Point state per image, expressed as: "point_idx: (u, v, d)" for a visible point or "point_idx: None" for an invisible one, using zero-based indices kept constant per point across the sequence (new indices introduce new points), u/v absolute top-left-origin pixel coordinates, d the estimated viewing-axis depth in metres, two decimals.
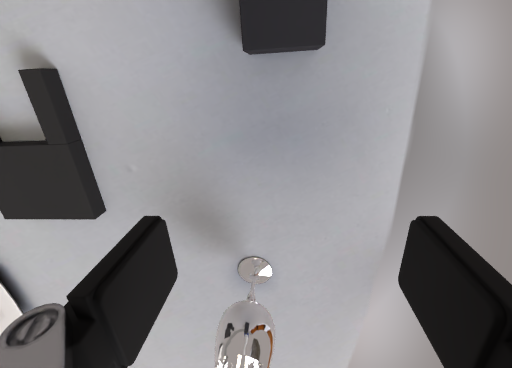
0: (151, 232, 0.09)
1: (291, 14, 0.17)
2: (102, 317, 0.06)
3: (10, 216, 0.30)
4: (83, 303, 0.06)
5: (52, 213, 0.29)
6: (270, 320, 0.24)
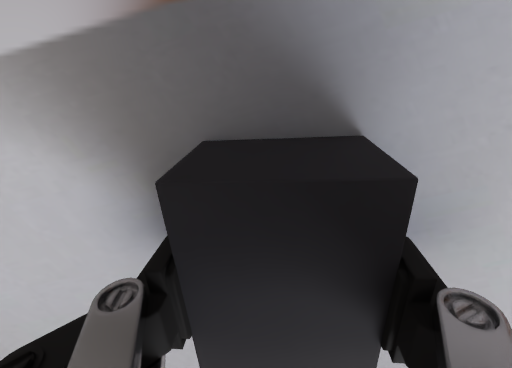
0: None
1: (302, 351, 0.08)
2: (172, 291, 0.07)
3: None
4: (157, 277, 0.07)
5: None
6: None
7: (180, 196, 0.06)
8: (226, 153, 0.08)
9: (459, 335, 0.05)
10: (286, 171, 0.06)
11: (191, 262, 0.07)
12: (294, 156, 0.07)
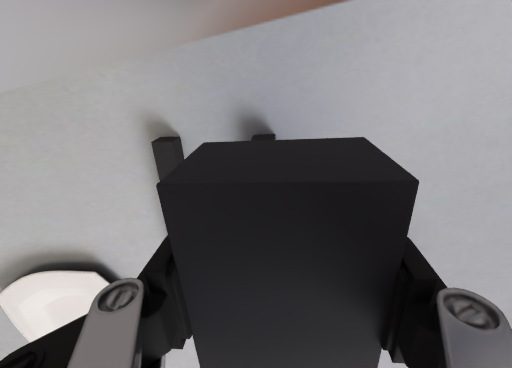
0: None
1: (303, 353, 0.08)
2: (171, 291, 0.07)
3: None
4: (157, 277, 0.07)
5: None
6: None
7: (181, 198, 0.06)
8: (227, 155, 0.08)
9: (459, 335, 0.05)
10: (287, 173, 0.06)
11: (192, 263, 0.07)
12: (295, 158, 0.07)
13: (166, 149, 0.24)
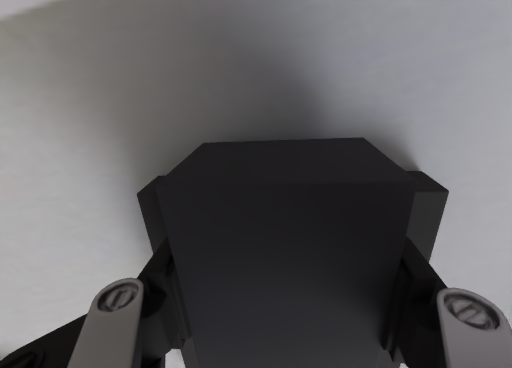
0: None
1: (302, 353, 0.08)
2: (171, 291, 0.07)
3: None
4: (157, 277, 0.07)
5: None
6: None
7: (180, 199, 0.06)
8: (226, 155, 0.08)
9: (459, 335, 0.05)
10: (286, 173, 0.06)
11: (191, 264, 0.07)
12: (294, 158, 0.07)
13: None
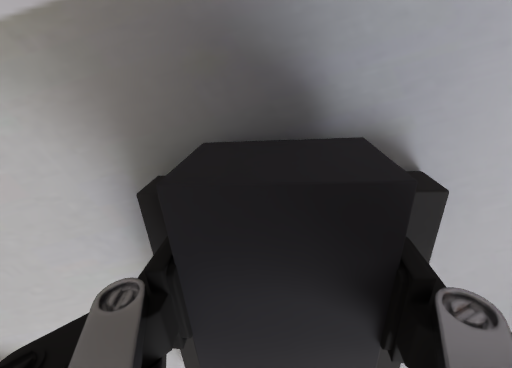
0: None
1: (302, 353, 0.08)
2: (173, 291, 0.07)
3: None
4: (159, 277, 0.07)
5: None
6: None
7: (181, 198, 0.06)
8: (226, 155, 0.08)
9: (458, 335, 0.05)
10: (286, 173, 0.06)
11: (191, 263, 0.07)
12: (294, 158, 0.07)
13: None
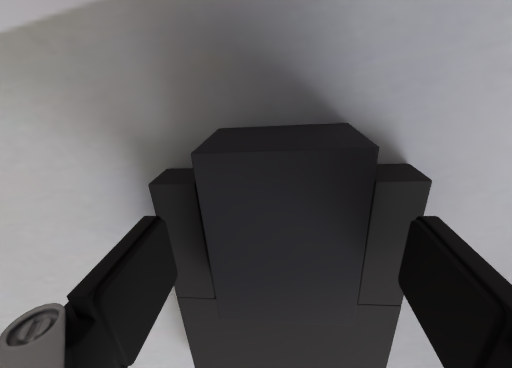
0: (151, 232, 0.09)
1: (299, 290, 0.10)
2: (102, 317, 0.06)
3: None
4: (83, 303, 0.06)
5: None
6: None
7: (209, 163, 0.08)
8: (239, 135, 0.10)
9: None
10: (286, 145, 0.08)
11: (215, 216, 0.09)
12: (292, 136, 0.09)
13: (180, 199, 0.11)
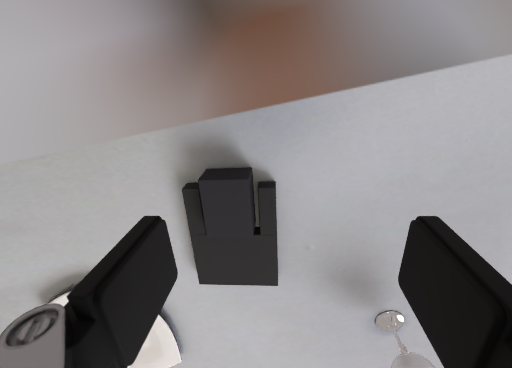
0: (151, 232, 0.09)
1: (233, 224, 0.31)
2: (102, 317, 0.06)
3: (205, 282, 0.38)
4: (83, 303, 0.06)
5: (242, 281, 0.37)
6: None
7: (203, 183, 0.29)
8: (213, 173, 0.31)
9: None
10: (225, 177, 0.29)
11: (205, 198, 0.30)
12: (229, 174, 0.30)
13: (193, 194, 0.32)
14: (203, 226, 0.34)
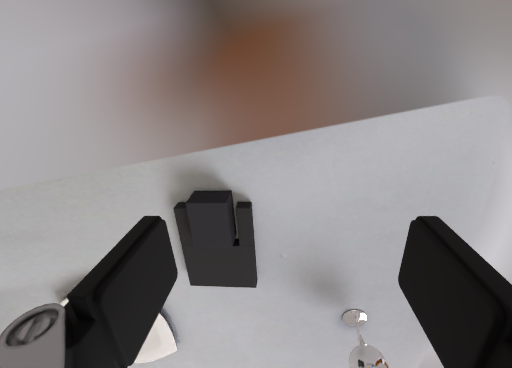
0: (151, 232, 0.09)
1: (215, 238, 0.38)
2: (102, 317, 0.06)
3: (195, 284, 0.45)
4: (83, 303, 0.06)
5: (226, 283, 0.44)
6: (385, 359, 0.39)
7: (189, 205, 0.36)
8: (199, 196, 0.37)
9: None
10: (208, 201, 0.36)
11: (191, 217, 0.36)
12: (211, 197, 0.37)
13: (182, 212, 0.39)
14: (192, 238, 0.41)
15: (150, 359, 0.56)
